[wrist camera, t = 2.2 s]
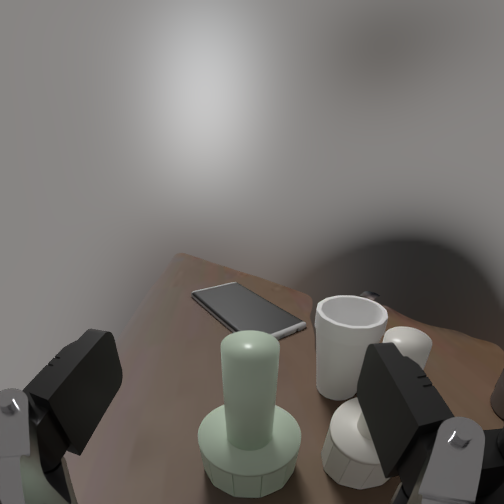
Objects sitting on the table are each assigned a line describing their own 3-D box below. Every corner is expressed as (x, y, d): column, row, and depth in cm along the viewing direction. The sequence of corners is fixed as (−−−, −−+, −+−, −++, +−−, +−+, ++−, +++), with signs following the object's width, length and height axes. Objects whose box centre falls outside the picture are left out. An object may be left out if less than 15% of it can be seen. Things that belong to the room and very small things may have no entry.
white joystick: (337, 419, 32) (365, 305, 27) (407, 435, 27) (456, 322, 22) (306, 475, 23) (337, 358, 19) (390, 497, 18) (465, 385, 14)
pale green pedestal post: (237, 421, 32) (233, 304, 27) (308, 450, 27) (334, 332, 22) (185, 469, 24) (155, 352, 19) (265, 513, 19) (278, 411, 14)
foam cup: (366, 411, 32) (391, 332, 29) (301, 403, 35) (312, 323, 32) (366, 370, 41) (383, 298, 38) (311, 364, 44) (321, 292, 40)
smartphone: (253, 352, 49) (253, 344, 48) (190, 297, 70) (189, 291, 69) (307, 330, 56) (308, 322, 56) (235, 286, 77) (235, 280, 77)
